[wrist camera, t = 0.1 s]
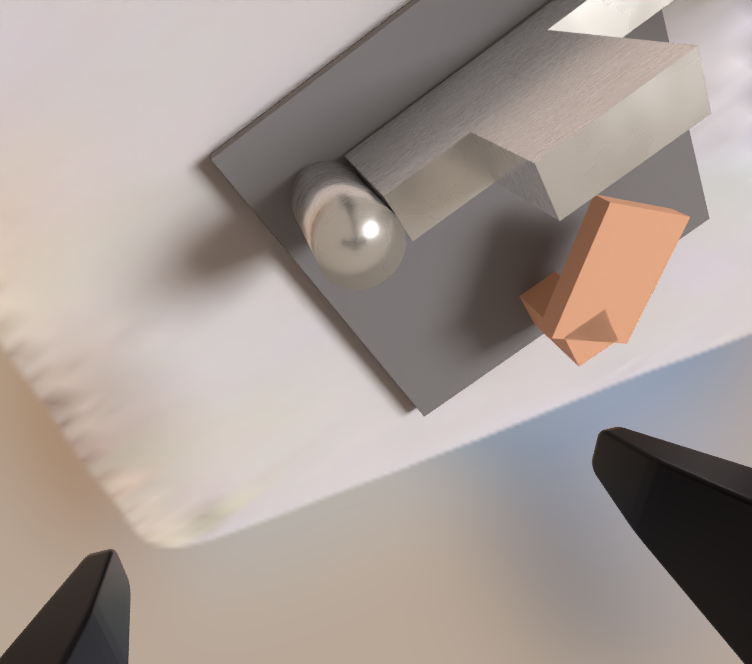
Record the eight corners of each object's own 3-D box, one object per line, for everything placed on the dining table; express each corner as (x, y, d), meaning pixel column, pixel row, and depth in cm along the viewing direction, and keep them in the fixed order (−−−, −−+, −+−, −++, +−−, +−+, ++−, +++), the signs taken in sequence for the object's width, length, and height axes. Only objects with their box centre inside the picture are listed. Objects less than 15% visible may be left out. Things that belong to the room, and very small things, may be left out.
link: (274, 190, 20) (321, 295, 13) (620, -69, 19) (869, -103, 12) (318, 247, 22) (381, 366, 15) (640, 10, 21) (870, 19, 14)
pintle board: (210, 154, 20) (216, 191, 16) (608, -150, 19) (714, -186, 15) (418, 407, 29) (453, 468, 25) (697, 213, 28) (777, 247, 24)
